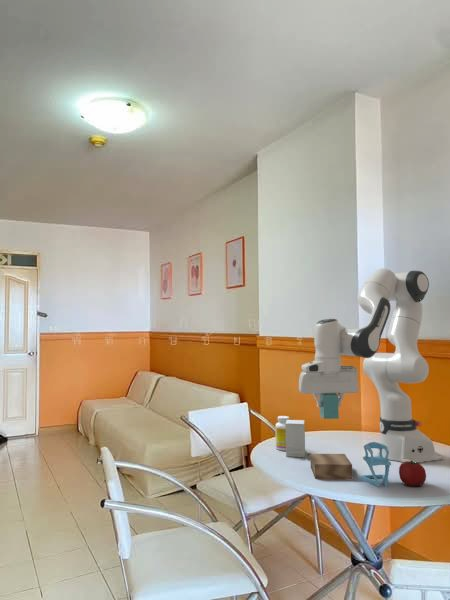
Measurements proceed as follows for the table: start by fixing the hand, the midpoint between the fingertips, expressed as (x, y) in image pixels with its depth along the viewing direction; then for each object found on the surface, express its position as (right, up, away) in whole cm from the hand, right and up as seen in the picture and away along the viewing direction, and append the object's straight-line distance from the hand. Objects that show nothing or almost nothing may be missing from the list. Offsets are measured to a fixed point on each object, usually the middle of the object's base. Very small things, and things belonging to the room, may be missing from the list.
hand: (328, 406), depth 147 cm
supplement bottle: (-12, -24, +28) cm, 39 cm away
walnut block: (0, -23, -2) cm, 23 cm away
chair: (+13, -22, -11) cm, 27 cm away
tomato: (+23, -21, -13) cm, 34 cm away
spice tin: (0, -4, 0) cm, 4 cm away
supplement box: (-8, -24, +20) cm, 32 cm away
